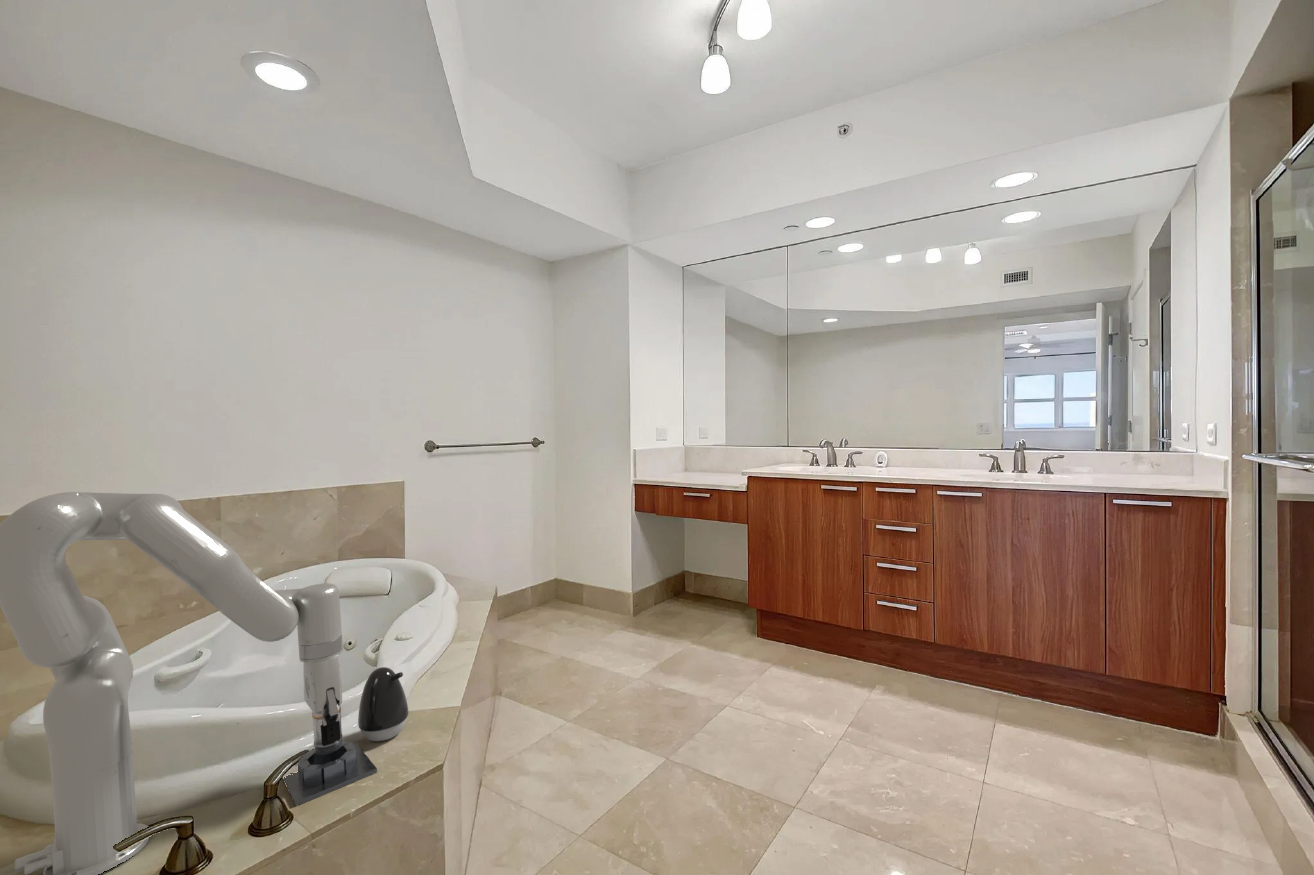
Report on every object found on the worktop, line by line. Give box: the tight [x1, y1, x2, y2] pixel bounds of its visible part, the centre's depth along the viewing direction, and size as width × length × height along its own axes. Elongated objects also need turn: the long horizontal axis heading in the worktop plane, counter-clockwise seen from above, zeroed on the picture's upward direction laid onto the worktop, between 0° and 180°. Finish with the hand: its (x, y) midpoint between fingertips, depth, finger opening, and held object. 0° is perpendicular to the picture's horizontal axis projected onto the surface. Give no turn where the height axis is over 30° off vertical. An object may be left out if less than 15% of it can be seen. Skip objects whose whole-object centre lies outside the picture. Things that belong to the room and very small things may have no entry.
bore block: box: [283, 741, 378, 807], centre depth 115 cm, size 14×14×4 cm
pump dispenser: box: [357, 666, 409, 742], centre depth 129 cm, size 10×10×15 cm
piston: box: [311, 704, 344, 755], centre depth 115 cm, size 5×5×9 cm
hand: (327, 736), depth 115 cm, fingers closed on piston, 4 cm apart
